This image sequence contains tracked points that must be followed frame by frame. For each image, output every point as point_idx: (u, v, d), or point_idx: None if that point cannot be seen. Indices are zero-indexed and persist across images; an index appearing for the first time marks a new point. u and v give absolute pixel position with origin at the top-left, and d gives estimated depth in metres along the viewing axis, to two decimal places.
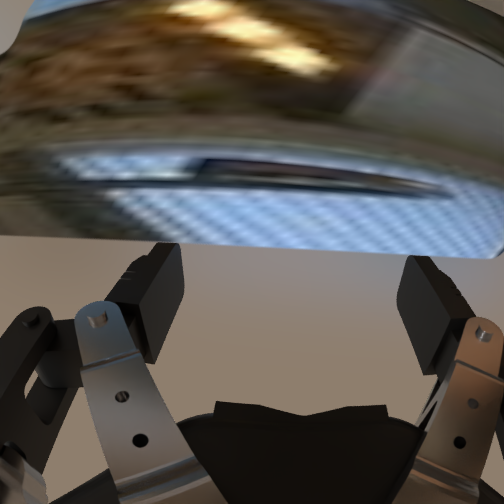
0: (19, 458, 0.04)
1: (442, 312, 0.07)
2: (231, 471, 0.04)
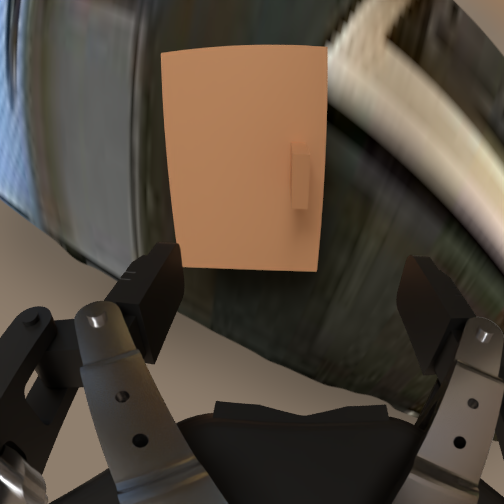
0: (19, 458, 0.04)
1: (442, 312, 0.07)
2: (231, 471, 0.04)
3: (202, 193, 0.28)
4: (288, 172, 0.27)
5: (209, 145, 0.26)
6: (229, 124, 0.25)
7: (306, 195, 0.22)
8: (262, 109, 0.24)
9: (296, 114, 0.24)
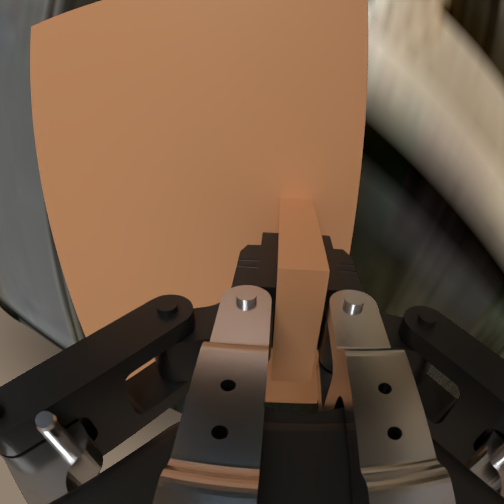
0: (84, 439, 0.05)
1: None
2: None
3: (113, 287, 0.15)
4: None
5: (112, 201, 0.12)
6: (146, 157, 0.11)
7: (309, 359, 0.09)
8: (216, 121, 0.11)
9: (294, 134, 0.11)
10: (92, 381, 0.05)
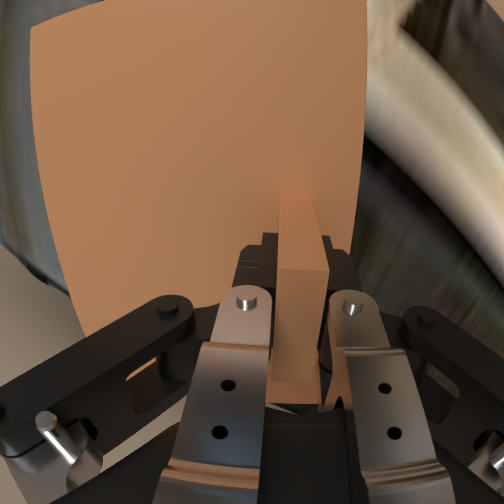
0: (85, 439, 0.05)
1: None
2: None
3: (113, 287, 0.15)
4: None
5: (112, 202, 0.12)
6: (146, 158, 0.11)
7: (309, 359, 0.09)
8: (215, 122, 0.11)
9: (294, 134, 0.11)
10: (92, 381, 0.05)
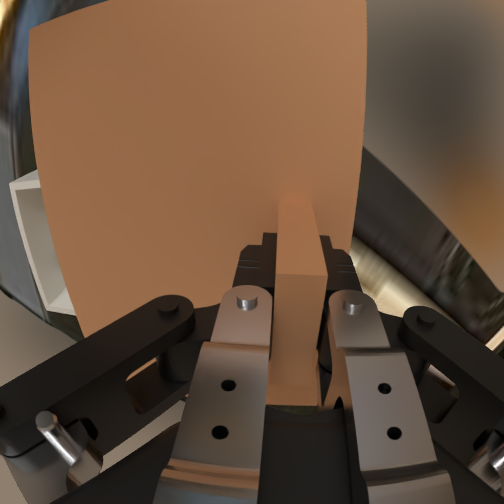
0: (85, 439, 0.05)
1: None
2: None
3: (112, 290, 0.14)
4: None
5: (111, 204, 0.12)
6: (144, 161, 0.11)
7: (307, 363, 0.09)
8: (214, 124, 0.11)
9: (293, 136, 0.11)
10: (93, 381, 0.05)
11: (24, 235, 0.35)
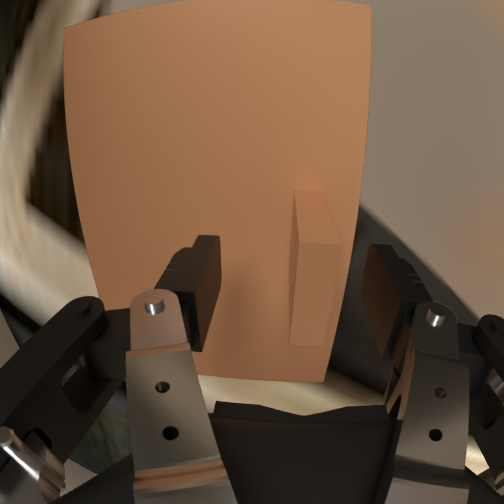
0: (42, 447, 0.04)
1: (394, 296, 0.08)
2: (231, 471, 0.04)
3: (138, 270, 0.16)
4: (286, 243, 0.15)
5: (142, 191, 0.14)
6: (175, 152, 0.13)
7: (322, 323, 0.10)
8: (239, 121, 0.12)
9: (307, 134, 0.12)
10: (34, 388, 0.05)
11: None
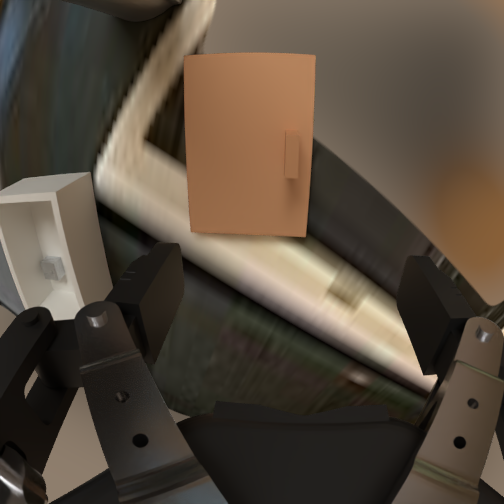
0: (19, 458, 0.04)
1: (442, 312, 0.07)
2: (231, 471, 0.04)
3: (213, 169, 0.35)
4: (283, 153, 0.33)
5: (220, 130, 0.32)
6: (237, 114, 0.31)
7: (296, 167, 0.29)
8: (263, 102, 0.31)
9: (290, 107, 0.31)
10: (0, 400, 0.04)
11: (5, 247, 0.35)
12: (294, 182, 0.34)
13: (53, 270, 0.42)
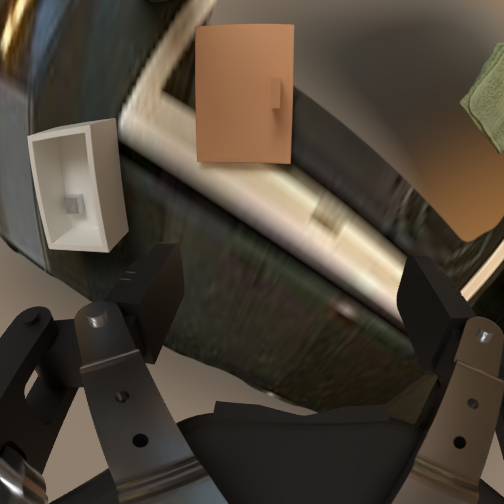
0: (19, 458, 0.04)
1: (442, 312, 0.07)
2: (231, 471, 0.04)
3: (216, 110, 0.42)
4: (270, 96, 0.41)
5: (222, 80, 0.40)
6: (235, 68, 0.39)
7: (279, 100, 0.36)
8: (255, 59, 0.38)
9: (275, 62, 0.38)
10: (0, 400, 0.04)
11: (36, 179, 0.42)
12: (279, 119, 0.42)
13: (75, 204, 0.49)
